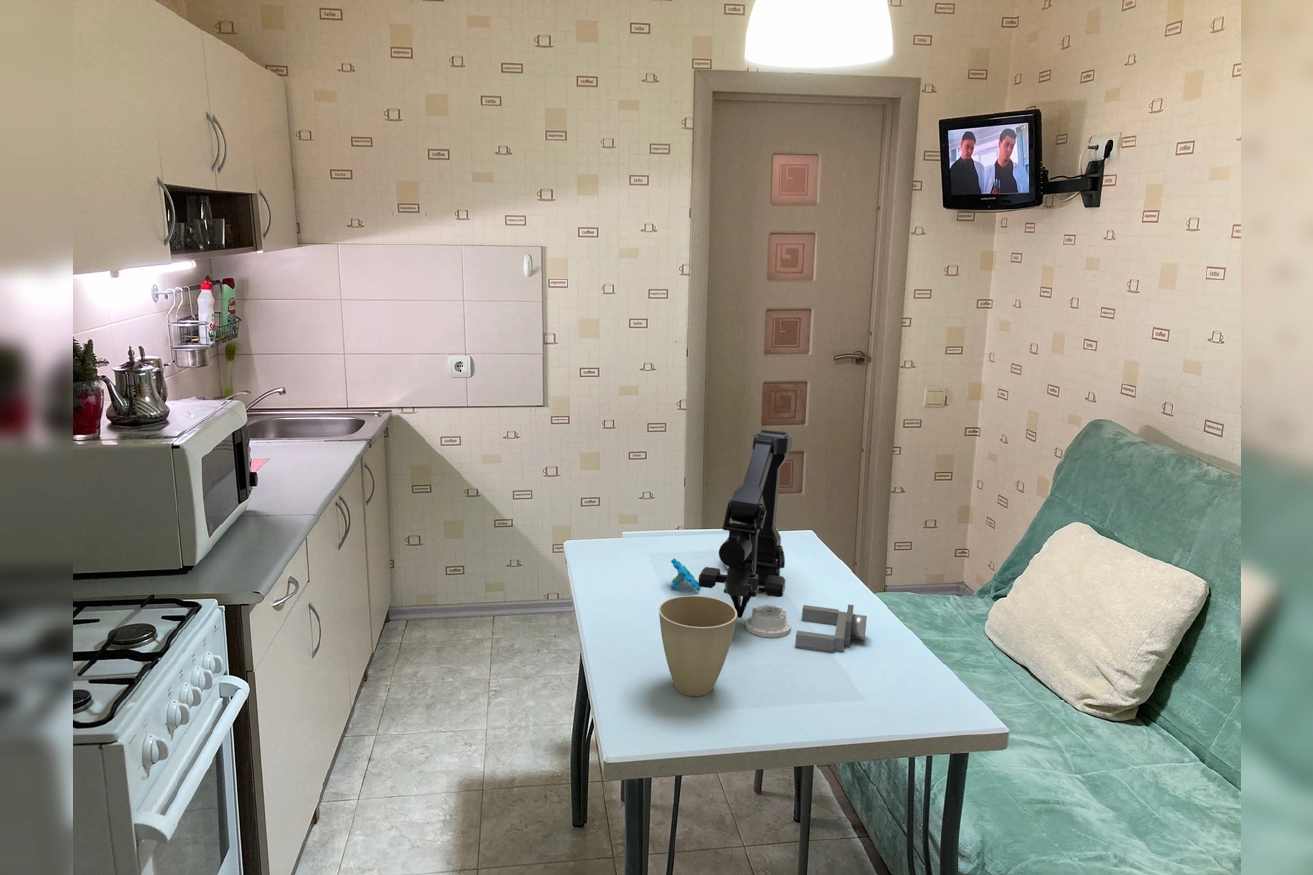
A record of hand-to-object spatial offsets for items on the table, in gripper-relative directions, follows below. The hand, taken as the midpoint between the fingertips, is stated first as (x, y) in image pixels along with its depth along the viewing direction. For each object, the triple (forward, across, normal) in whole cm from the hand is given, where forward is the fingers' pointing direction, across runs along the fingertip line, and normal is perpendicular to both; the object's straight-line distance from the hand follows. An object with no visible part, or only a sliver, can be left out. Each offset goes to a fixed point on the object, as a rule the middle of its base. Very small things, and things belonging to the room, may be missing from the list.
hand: (739, 617), depth 206 cm
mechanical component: (+2, +6, 0) cm, 7 cm away
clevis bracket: (+1, +20, 0) cm, 20 cm away
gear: (+2, -16, +16) cm, 23 cm away
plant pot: (+2, -4, -31) cm, 31 cm away
